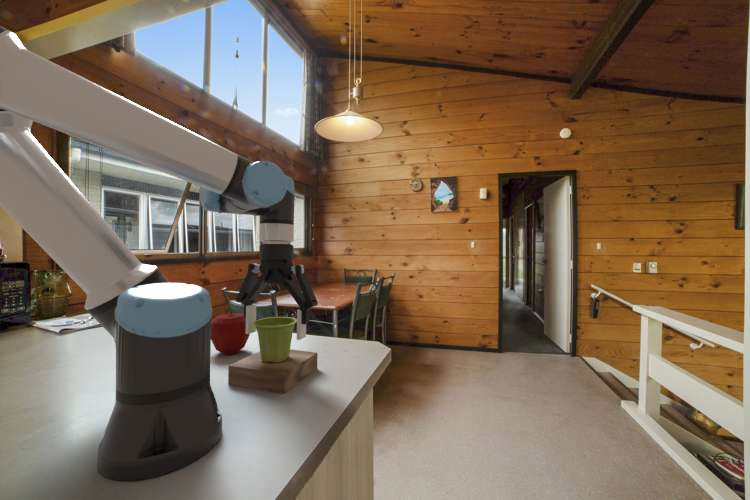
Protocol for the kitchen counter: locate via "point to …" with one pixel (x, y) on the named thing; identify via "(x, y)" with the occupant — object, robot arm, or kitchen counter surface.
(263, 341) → the plant pot
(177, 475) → the kitchen counter surface
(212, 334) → the apple
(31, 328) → the kitchen counter surface
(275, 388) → the walnut plinth
